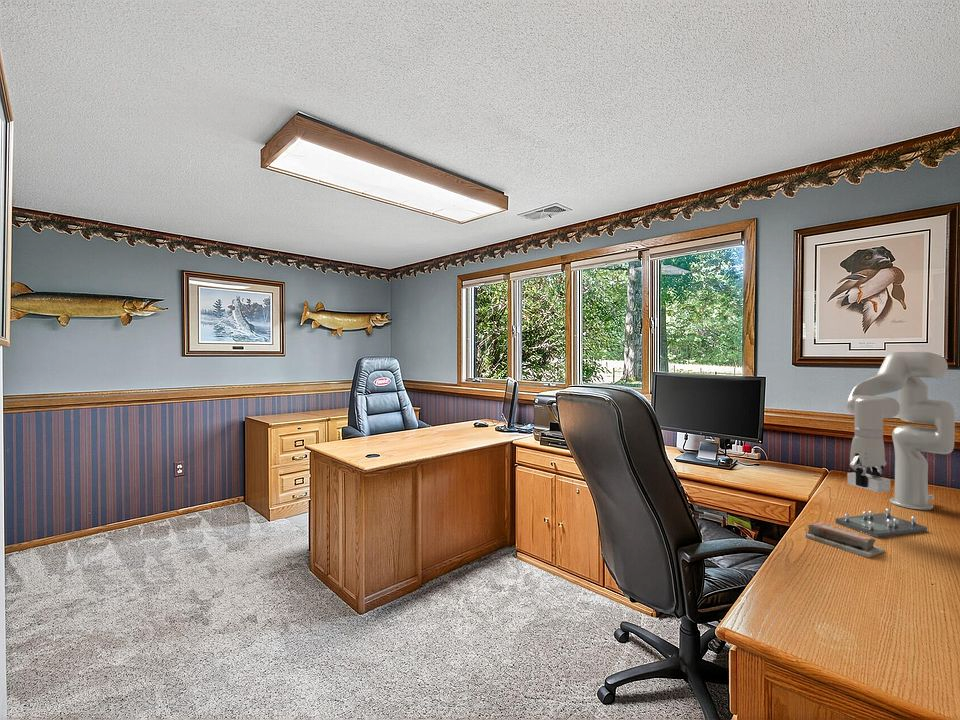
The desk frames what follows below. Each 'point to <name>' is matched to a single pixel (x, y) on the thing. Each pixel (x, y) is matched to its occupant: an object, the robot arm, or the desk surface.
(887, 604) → the desk surface
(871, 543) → the packaged product
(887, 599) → the desk surface
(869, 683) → the desk surface
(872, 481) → the block
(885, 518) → the tray
